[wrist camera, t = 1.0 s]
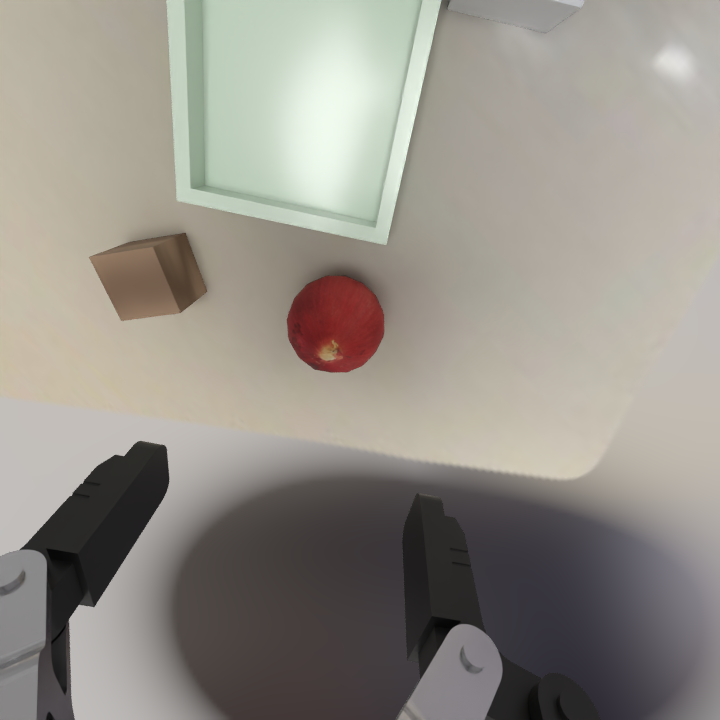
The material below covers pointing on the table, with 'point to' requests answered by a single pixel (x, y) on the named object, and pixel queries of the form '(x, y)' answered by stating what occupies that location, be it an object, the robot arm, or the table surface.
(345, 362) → the onion
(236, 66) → the dish
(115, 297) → the walnut block
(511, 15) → the grey block
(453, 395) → the table surface
